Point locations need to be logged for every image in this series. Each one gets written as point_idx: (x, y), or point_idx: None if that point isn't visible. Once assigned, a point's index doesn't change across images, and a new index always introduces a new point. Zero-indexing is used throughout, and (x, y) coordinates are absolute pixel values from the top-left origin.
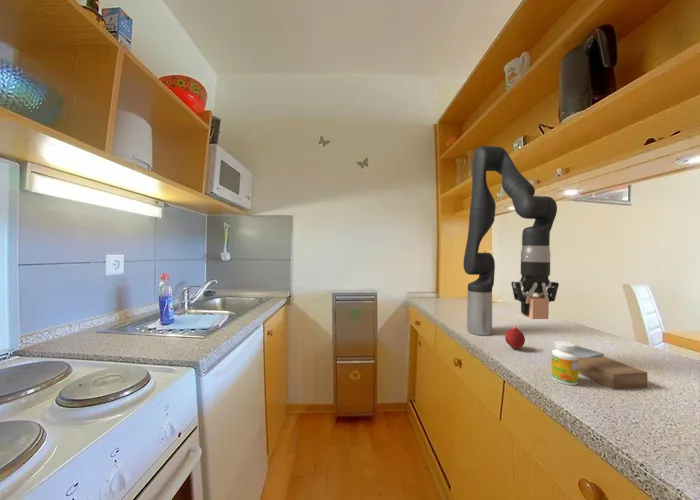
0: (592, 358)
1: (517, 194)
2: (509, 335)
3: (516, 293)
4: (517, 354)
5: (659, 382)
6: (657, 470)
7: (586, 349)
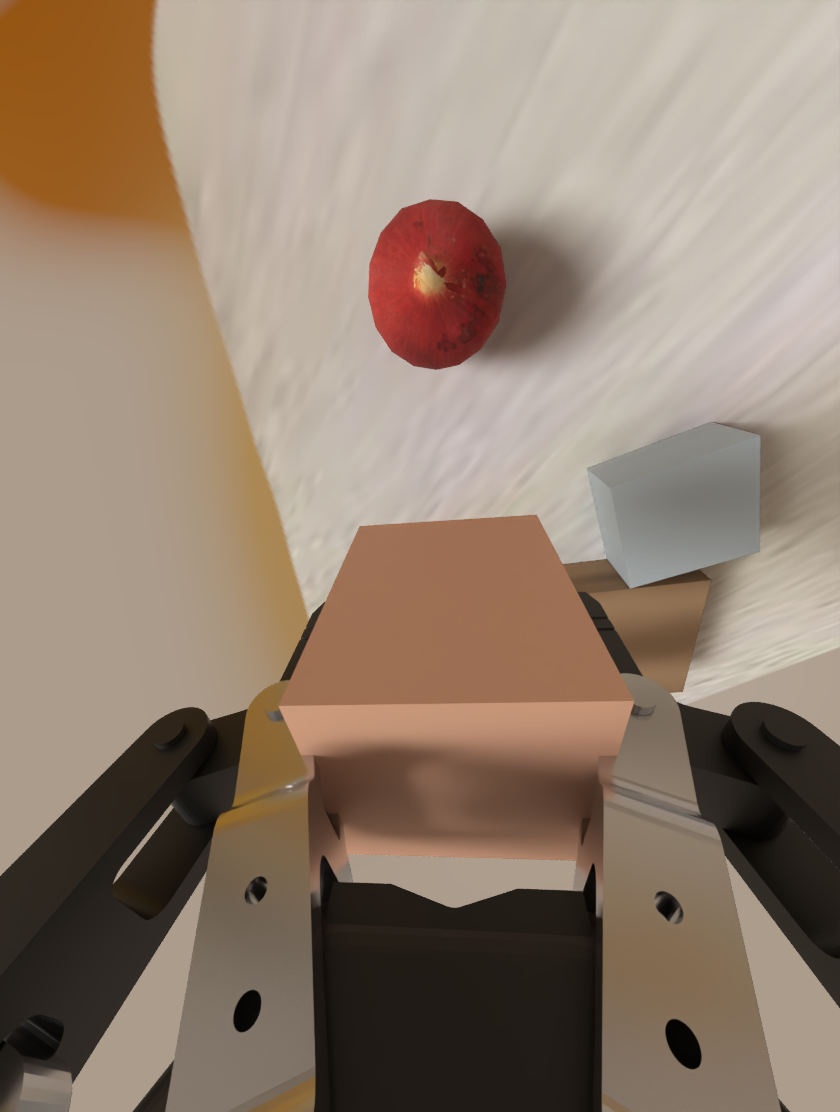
0: (625, 599)
1: None
2: (377, 320)
3: (103, 847)
4: (405, 398)
5: (744, 634)
6: None
7: (739, 500)
